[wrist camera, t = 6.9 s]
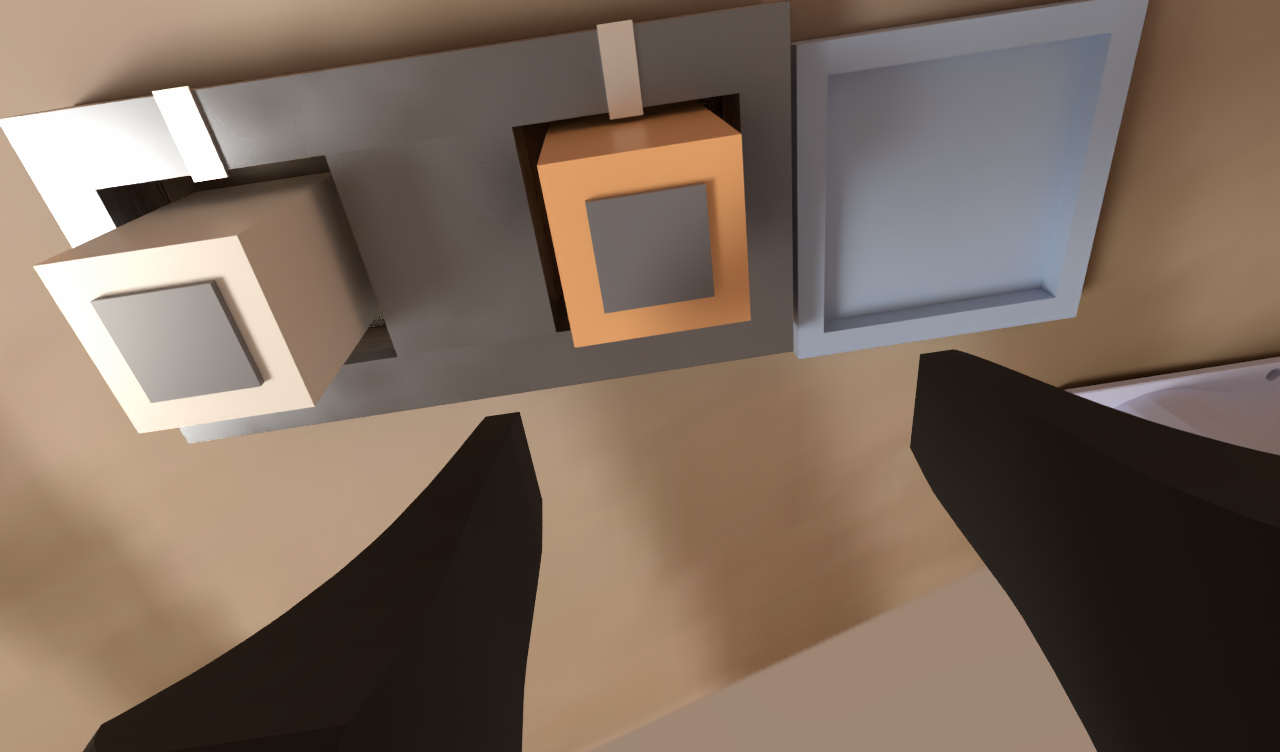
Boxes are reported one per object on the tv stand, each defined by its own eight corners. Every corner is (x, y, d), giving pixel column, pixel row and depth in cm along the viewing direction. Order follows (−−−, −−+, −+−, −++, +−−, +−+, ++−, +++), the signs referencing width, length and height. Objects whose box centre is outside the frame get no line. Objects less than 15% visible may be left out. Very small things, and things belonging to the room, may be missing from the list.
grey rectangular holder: (763, -2, 16) (791, -5, 14) (772, 317, 21) (794, 352, 19) (68, 102, 16) (-10, 115, 14) (227, 400, 21) (187, 445, 19)
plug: (693, 98, 18) (743, 135, 12) (705, 238, 20) (752, 324, 14) (549, 120, 18) (536, 167, 12) (576, 259, 20) (574, 352, 14)
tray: (1116, -7, 17) (1151, -9, 16) (1051, 302, 22) (1075, 316, 21) (783, 43, 17) (796, 45, 16) (788, 342, 22) (798, 359, 20)
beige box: (337, 170, 18) (232, 238, 12) (385, 303, 20) (311, 411, 14) (194, 192, 18) (24, 269, 12) (255, 322, 20) (133, 438, 14)
